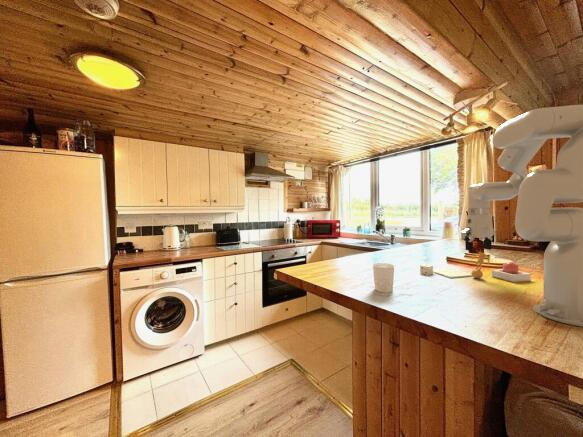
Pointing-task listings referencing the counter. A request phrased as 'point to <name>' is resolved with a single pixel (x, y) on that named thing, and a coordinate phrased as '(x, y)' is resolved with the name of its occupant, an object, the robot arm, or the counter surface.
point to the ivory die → (426, 269)
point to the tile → (451, 273)
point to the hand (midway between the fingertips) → (478, 249)
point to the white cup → (383, 277)
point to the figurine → (477, 272)
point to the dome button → (510, 268)
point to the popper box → (511, 276)
